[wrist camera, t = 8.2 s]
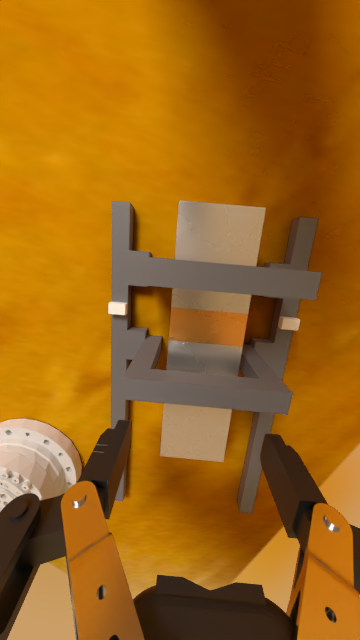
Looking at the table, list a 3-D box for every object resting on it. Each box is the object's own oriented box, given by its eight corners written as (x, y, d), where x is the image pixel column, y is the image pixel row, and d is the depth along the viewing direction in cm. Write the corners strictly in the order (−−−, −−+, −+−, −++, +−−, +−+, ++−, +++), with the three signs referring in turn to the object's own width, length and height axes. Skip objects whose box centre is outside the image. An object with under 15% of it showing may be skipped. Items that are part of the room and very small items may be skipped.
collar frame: (116, 205, 14) (58, 151, 8) (309, 221, 14) (415, 180, 8) (114, 489, 21) (80, 592, 14) (248, 502, 21) (278, 612, 14)
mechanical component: (52, 512, 22) (103, 454, 20) (20, 570, 18) (80, 504, 16) (-33, 463, 21) (12, 396, 19) (-89, 514, 16) (-39, 434, 14)
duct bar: (181, 220, 15) (179, 200, 10) (242, 226, 15) (266, 207, 10) (166, 412, 18) (159, 456, 14) (214, 417, 18) (223, 461, 14)
